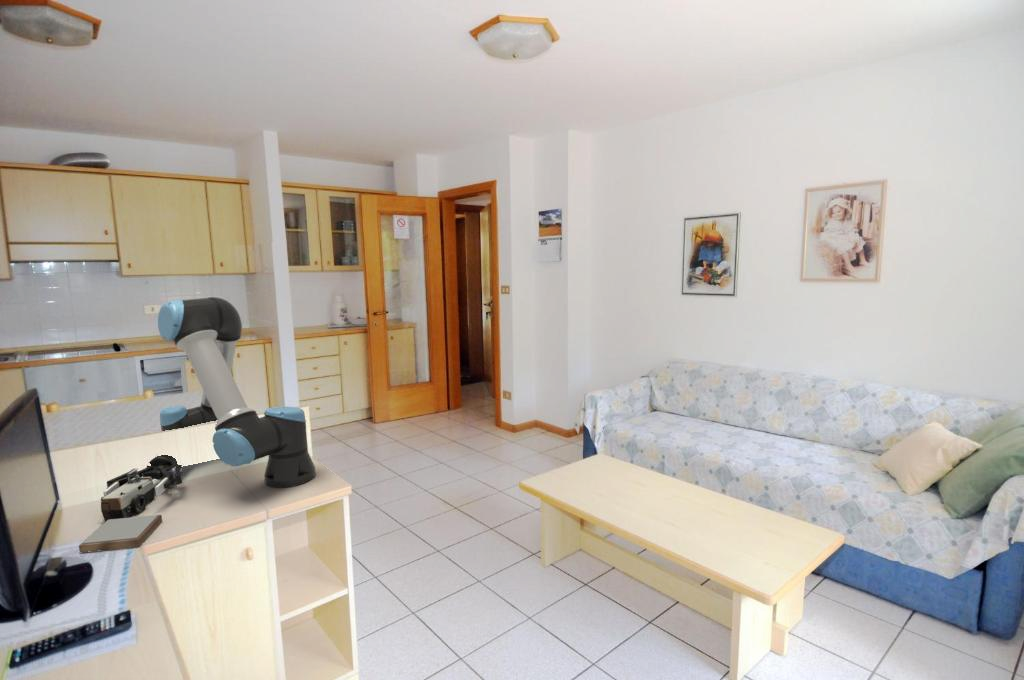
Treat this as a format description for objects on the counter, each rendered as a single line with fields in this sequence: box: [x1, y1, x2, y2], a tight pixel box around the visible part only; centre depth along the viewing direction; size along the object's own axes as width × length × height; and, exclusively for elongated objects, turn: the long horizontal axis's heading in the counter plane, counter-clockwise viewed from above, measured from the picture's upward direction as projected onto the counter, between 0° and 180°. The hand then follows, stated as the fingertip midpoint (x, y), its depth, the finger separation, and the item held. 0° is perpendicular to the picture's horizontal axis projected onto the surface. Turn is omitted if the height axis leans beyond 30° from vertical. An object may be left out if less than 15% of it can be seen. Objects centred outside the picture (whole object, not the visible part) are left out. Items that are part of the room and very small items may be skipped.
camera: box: [100, 468, 156, 523], centre depth 152 cm, size 15×8×10 cm, turn 0°
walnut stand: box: [78, 514, 163, 553], centre depth 138 cm, size 13×13×2 cm
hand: (131, 494), depth 149 cm, fingers open, 12 cm apart
